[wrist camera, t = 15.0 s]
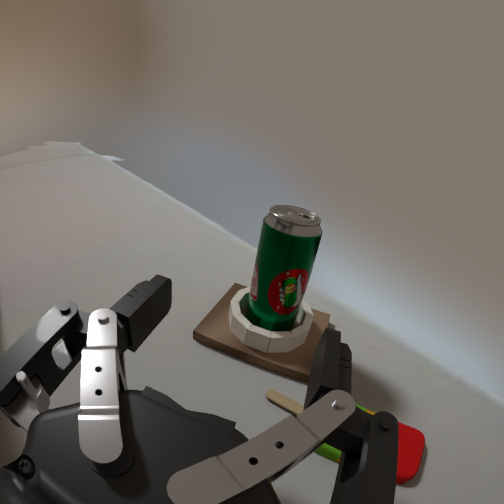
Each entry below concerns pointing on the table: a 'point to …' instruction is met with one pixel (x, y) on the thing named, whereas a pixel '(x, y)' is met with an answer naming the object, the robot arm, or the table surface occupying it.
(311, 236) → the soda can
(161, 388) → the table surface
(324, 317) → the socket plate
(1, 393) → the robot arm
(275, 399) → the popsicle
